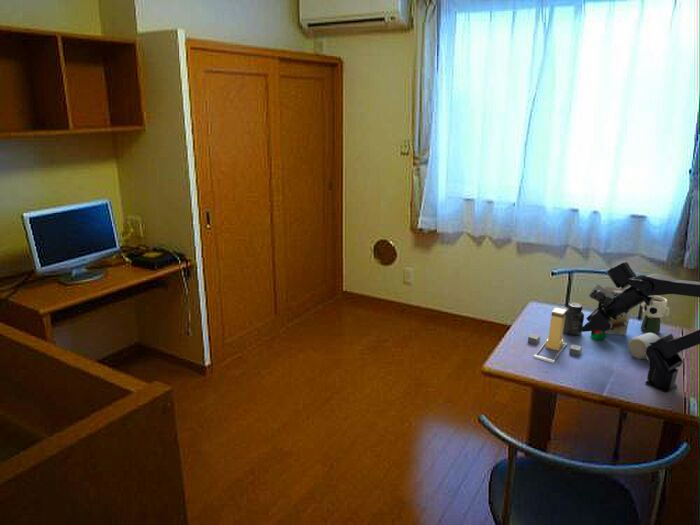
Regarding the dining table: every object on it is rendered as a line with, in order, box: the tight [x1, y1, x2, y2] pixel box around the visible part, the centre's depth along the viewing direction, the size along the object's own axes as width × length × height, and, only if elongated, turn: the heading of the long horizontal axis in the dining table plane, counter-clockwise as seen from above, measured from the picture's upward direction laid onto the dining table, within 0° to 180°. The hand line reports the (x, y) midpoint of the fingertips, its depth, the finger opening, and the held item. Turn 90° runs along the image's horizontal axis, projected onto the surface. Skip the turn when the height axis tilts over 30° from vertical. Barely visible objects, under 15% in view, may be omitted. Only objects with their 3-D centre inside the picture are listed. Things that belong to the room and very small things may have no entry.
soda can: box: [590, 331, 608, 342], centre depth 188 cm, size 5×5×12 cm
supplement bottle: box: [563, 302, 585, 337], centre depth 192 cm, size 7×7×12 cm
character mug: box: [640, 295, 670, 334], centre depth 197 cm, size 11×7×13 cm, turn 25°
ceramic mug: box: [627, 332, 660, 362], centre depth 177 cm, size 11×8×8 cm
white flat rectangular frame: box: [527, 333, 583, 364], centre depth 180 cm, size 20×16×3 cm
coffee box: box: [603, 286, 632, 336], centre depth 196 cm, size 9×6×16 cm
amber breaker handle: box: [545, 307, 567, 352], centre depth 181 cm, size 4×4×13 cm
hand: (584, 324), depth 175 cm, fingers open, 9 cm apart
